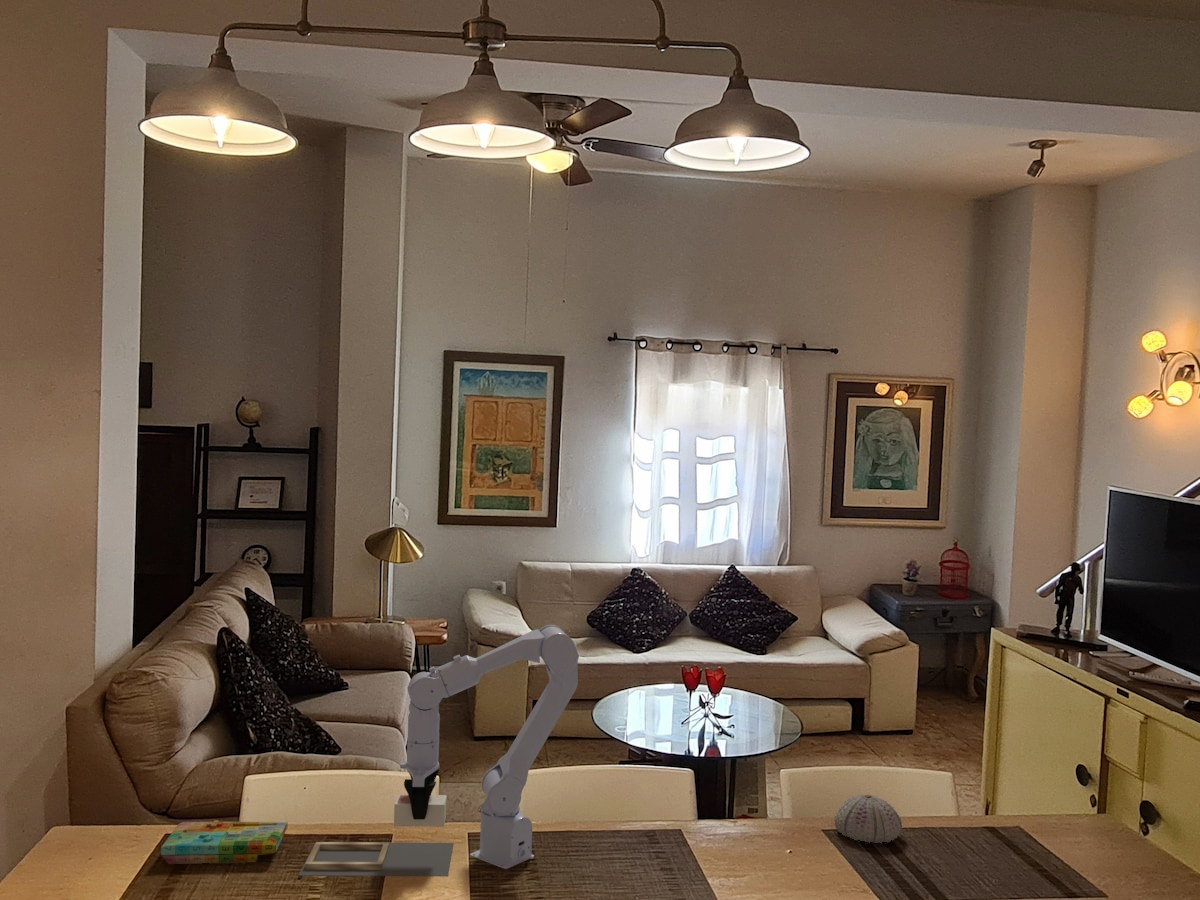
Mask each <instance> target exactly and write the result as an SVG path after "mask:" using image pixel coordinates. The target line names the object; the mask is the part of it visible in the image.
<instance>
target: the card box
mask: <svg viewBox="0 0 1200 900" xmlns="http://www.w3.org/2000/svg"><path fill="white" fill-rule="evenodd" d="M447 798H448V797H447V795H446V794H431V795H430V799H429V804H428V809H427V814H426V817H425V819H424V820H423V819H413V815H412V809H411V803H410V799H409V795H408V794H397V796H396V799H395V802H394V808H393V809H394V810H393V811H394V813H393V814H394V815H393V827H437V828H438V827H439V828H441V827H442V828H443V827H445V824H446V823H445V822H446V817H447Z"/></svg>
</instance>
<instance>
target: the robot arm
mask: <svg viewBox="0 0 1200 900" xmlns="http://www.w3.org/2000/svg"><path fill="white" fill-rule="evenodd" d="M579 657H580V655H579V652H578V650H577V647H576V645H575V642H574V640H573V639H572V638H571V637H570V636H569V635H567V634H566V632H565V631H564V629H562V628H561V627H560V626H558V625H554V624H548V625H545V626H543V627H541V628H540V629H538V628H537V629H533V630H531V631H529V632H526V633H524V634H522V635H521V636H519V637H517V638H514V639H513V640H510V641H508V642H506V643H504V644H502V645H500V646H498V647H496V648H493V649H492V650H490V651H488V652H485V653H483V654H481V655H480V656H478V657H474V656H471V655H470V656H469V655H466V654H465V655H463V656H461V655H460V654H457V655H455V656H453V658H452V659H453V660H452V661H449V662H446V663H445V664H442V665H440V666H438V667H435V666H432V667H430V668H429V669H428V671H427V672H426V671H421V672H418V673H416V674H414V675H413V676H412V678H411V679H410V681H409V683H408V685H407V692H408V695H409V699H410V700H409V705H408V711H409V713H408V714H407V742H406V743H407V745H406V747H407V748H406V760H405V761H401V762H400V764H399V768H400V769H405V770H406V771H407V772H408V775H409V776H410V779H408V778H405V779H404V781H403V786H404V789H405V791H406V792H407V793H406V794H407V795H409V799H410V803H411V809H412V815H413V819H423V820H424V819H425V817H426V814H427V809H428V804H429V799H430V795H432V793H433V791H434V788H435V786H436V784H437V781H435V780H436V778H437V776H438V775H439V772H440V762H439V749H440V747H439V746H440V721H441V719H440V716H441V715H440V713H439V710H440V706H439V705H440V703H441V701H442V700H443V698H445V699H446V698H449V697H452V696H454V695H456V694H458V693H460V692H462V691H465V690H468V689H469V688H471V687H474V686H476V685H478V684H479V683H480V680H481V678H482V677H483V675H485V674H487V673H489V672H493V671H496V670H498V669H501V668H503V667H506V666H508V665H511V664H514V663H516V662H519V661H521V660H522V661H523V660H525V661H528V662H529V661H530V662H534V663H537V664H540V663H541V659H542V661H543V662H544V664H545V665H544V666H545V669H546V672H547V675H548V679H549V681H548V683H547V684H546V686H545V688H544V689H543V691H542V693H541V695H540V697H539V698H538V700H537V701H536V703H535V705H534V706H533V708H532V710H531V712H530V713H529V715H528V716H527V719H526V720H525V722H524V724H523V725H522V727H521V729H520V730H519V732H518V734H517V735H516V738H515V739H514V740H513V742H512V743H511V745H510V747H509V748H508V751H507V752H506V753H505V754H504V755H502V756H501V757H499V759H498V761H497V762H496V763H495V765H494V766H493V767H491V768H490V769H488V770H487V771H486V772H485V773H484V775H483V776H482V780H481V788H482V791H483V793H484V795H485V797H486V798H485V800H484V802H483V803H482V804H481V806H480V807H481V808H480V840H479V849H478V850H476V851H473V852H470V853H469V856H470V857H473V858H476V859H477V860H480V861H484V862H486V863H488V864H491V865H494V866H497V867H499V868H500V869H504V870H507V869H510V868H513V867H515V866H517V865H518V864H521V863H524V862H525V861H528V860H530V859H531V860H533V859H534V858H535V855H534V854H533V851H532V850H533V845H532V844H533V824H532V821H531V819H530V818H528V817H527V816H525V815H524V814H523V813H522V811H521V806H520V805H521V801H522V793H523V792H522V791H523V790H524V788H525V786H526V784H527V780H528V776H529V770H530V769H531V767H532V765H533V763H534V761H535V760H536V758H537V756H538V755H539V753H540V752H541V749H543V746H544V744H545V743H546V741H547V739H548V738H549V736H550V734H551V732H552V731H553V729H554V728H555V726H556V724H557V722H558V721H559V719H560V718H561V716H562V714H563V712H564V711H565V710H566V707H567V706H568V704H569V702H570V700H572V697H573V695H574V693H576V690H577V688H578V685H579V670H578V669H579V667H578V665H579V664H578V663H579ZM540 658H541V659H540Z"/></svg>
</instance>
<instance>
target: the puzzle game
mask: <svg viewBox="0 0 1200 900" xmlns="http://www.w3.org/2000/svg"><path fill="white" fill-rule="evenodd" d="M288 826H289V822H288V821H220V820H217V819H216V820H215V819H214V820H213V821H182V822H179V823H178V824H177V825H176V826H175V828H174V830H173V831H172V832H171V833H170V835H169V836H168V837H167V839H166V840H164V843H163V844H162V845H161V846H160V849H159V850H160V853H159V855H160V856H161V857H162V858H163V859H164V861H166V863H167V864H168V865H188V864H189V865H192V864H193V865H195V864H198V865H199V864H201V865H203V864H202V863H209V864H236V863H235V862H255V863H256V862H257V860H259V859H258V858H259V857H260V855H273V854H275V853H277V851H278V848H279V846H280V844H281V842H282V840H283V838H284V836H285V834H286V831H287V829H288V828H289V827H288Z"/></svg>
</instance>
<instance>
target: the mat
mask: <svg viewBox="0 0 1200 900" xmlns="http://www.w3.org/2000/svg"><path fill="white" fill-rule="evenodd" d="M315 844H316V842H315V843H314V844H313V847H312V849H311V850H310V851H309V852H310V853H311V852H312V850H313V848H314V846H315ZM454 845H455V843H454V842H392V841H391V842H389V850H388V853H387V856H386V859H385V862H384V865H383V868H382V870H305V863H306V861H307V859H308V857H309V855H310V853H309V855H307V858H306V861H305V862H304V864H303V866H302V868H301V870H300V872H299V874H298V879H303V877H305V876H306V877H309V876H310V877H315V876H316V877H319V876H320V877H321V876H322V877H323V876H324V877H325V876H327V877H328V876H329V877H449V873H450V867H451V862H452V861H451V860H452V857H453V850H454ZM380 852H381V850H333V849H321V850H320V852H319V854H318V856H317V858H316V860H315V862H377V861H378V858H379V855H380Z"/></svg>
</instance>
